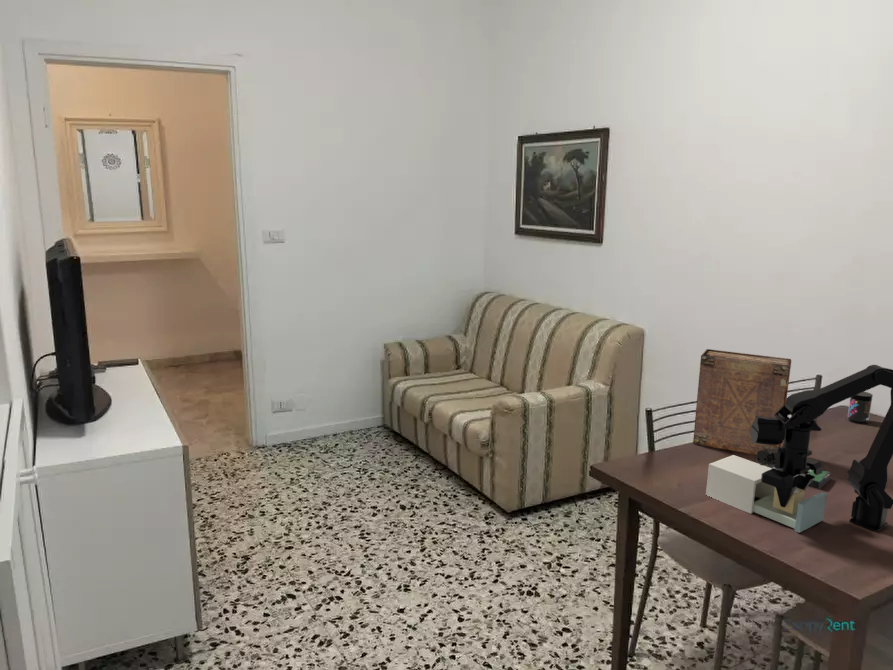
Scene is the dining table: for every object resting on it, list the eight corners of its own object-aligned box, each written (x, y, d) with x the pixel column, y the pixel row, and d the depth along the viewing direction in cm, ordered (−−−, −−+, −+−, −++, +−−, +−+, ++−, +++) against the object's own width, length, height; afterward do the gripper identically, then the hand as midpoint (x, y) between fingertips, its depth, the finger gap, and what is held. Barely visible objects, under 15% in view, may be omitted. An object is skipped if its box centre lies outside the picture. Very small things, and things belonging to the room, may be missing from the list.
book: (780, 450, 216) (792, 359, 210) (778, 460, 209) (790, 365, 202) (697, 435, 229) (706, 348, 222) (692, 444, 221) (701, 354, 214)
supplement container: (850, 416, 250) (854, 389, 248) (870, 421, 246) (875, 393, 243) (844, 420, 246) (848, 393, 244) (865, 425, 241) (869, 397, 239)
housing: (774, 502, 180) (778, 470, 178) (750, 513, 173) (754, 481, 171) (729, 485, 190) (733, 454, 188) (705, 495, 184) (708, 463, 182)
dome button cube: (802, 509, 171) (805, 489, 169) (792, 514, 168) (794, 494, 167) (783, 501, 175) (785, 482, 173) (772, 506, 172) (775, 487, 171)
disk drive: (764, 476, 198) (819, 491, 188) (765, 466, 198) (821, 481, 188) (776, 466, 206) (830, 480, 196) (777, 457, 205) (831, 471, 195)
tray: (822, 520, 170) (826, 493, 168) (799, 532, 163) (803, 505, 162) (772, 500, 180) (775, 475, 179) (748, 511, 174) (751, 485, 172)
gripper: (784, 428, 179) (777, 483, 183) (744, 443, 169) (737, 501, 172) (827, 441, 170) (819, 499, 174) (788, 457, 160) (780, 518, 163)
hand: (788, 504), depth 171 cm, fingers closed on dome button cube, 5 cm apart
